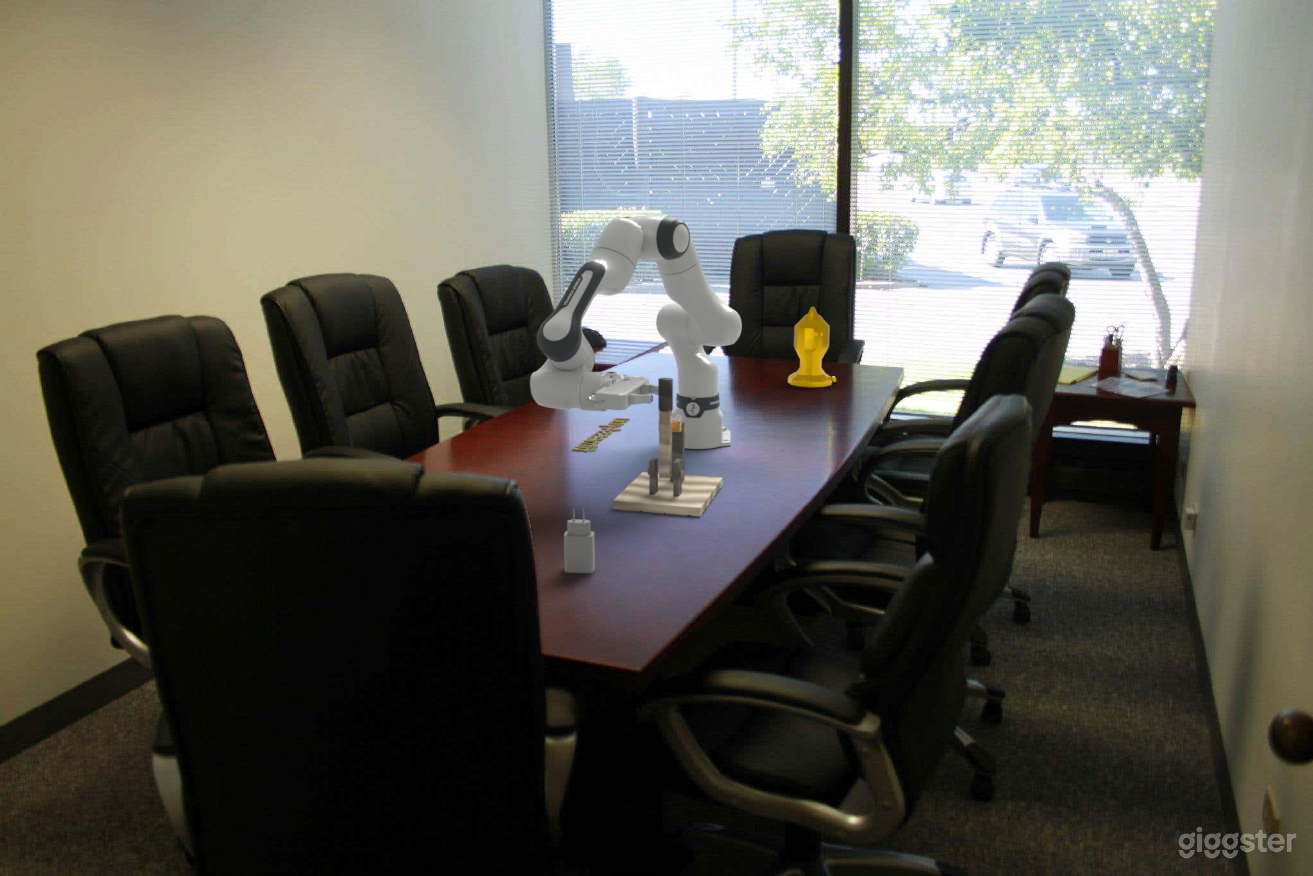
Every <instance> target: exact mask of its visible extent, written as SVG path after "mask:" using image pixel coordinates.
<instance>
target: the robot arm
mask: <svg viewBox="0 0 1313 876" xmlns="http://www.w3.org/2000/svg"><path fill="white" fill-rule="evenodd" d="M690 233H691V232H690V229H689V227H688V225H687V224H686V223H685V221H684V220H683V219H681V218H680V217H676V216H673V215H672V216H671V215H667V216H665V215H664V216H663V215H658V214H657V215H655V214H652V215H651V214H647V215H637V216H624V217H616V218H615V219H612V220H611V221H610V222H608V224H607V225H606V226H605V227H604V230H603V231H602V232H601V234H600V236H599V237H598V238H597V241H596V242H595V244H594V247H593V249H592V251H591V254H590V255H589V257H588V260H587V261H586V263H584V264H582V266H580V268H579V269H578V271H577V272H576V273H575V275H574V276H573V278H572V280H571V282H570V283H569V286H568V287H567V289H566V291H564V292H565V293H564V294H563V296H562V298H561V299H560V301H559V303H558V304H557V306H556V308H555V309H554V311H552V312H551V313H550V315H549V316H548V317H546V319H545V320H544V321H543V322H542V323H541V325H540V326H539V329H538V330H537V333H536V342H537V343H536V344H537V346H538V349H539V350H540V351H541V352H542V353H543V354H544V356H546V357H547V359H546V361H545V362H544V364H543V365H542V366H541V367H539V368H538V370H536V371H533V372H532V374H531V375H530V379H529V390H530V394H531V395H530V396H532V399H533V400H534V402H535V403H536V404H537V405H539V406H541V407H544V408H549V409H557V410H558V409H559V410H571V409H579V410H582V411H589V412H590V411H592V412H606V411H607V410H611V411H612V410H613V411H625V410H627V409H628V408H630V407H631V406H632V405H635V406H636V405H642V404H652V403H653V402H654V396H653V395H657V396H658V385H655V384H651V383H650V379H649V378H648V377H644V376H637V375H631V374H630V375H629V374H618V373H617V372H616V371H605V372H603V371H602V372H601V371H593V369H594V365H595V361H596V356H595V352H594V350H593V347H592V346H591V343H590V342H589V340H588V339H587V338H586V336H585V335H584V333H583V332H584V331H583V327H582V321H583V319H584V317H585V315H586V313H587V312H588V310H589V308H590V306H591V304H592V302H593V301H594V298H595V297H596V295H597V294H598V295H602V296H616V295H618V294H620V293H622V292H624V290H625V289H626V288H627V286H628V285H629V283H630V281H631V279H632V277H633V275H634V273H635V270H636V267H637V265H638V261H643V262H647V261H648V262H649V261H655V263H656V267H657V271H658V272H659V275H660V278H661V281H662V284H663V287H664V290H665V293H666V295H667V296H668V298H669V299H670V300H672V302H674V303H670V304H666V305H665V304H664V306H662V307H661V308H660V309H659V311H658V313H657V315H656V319H655V325H656V329H657V333H658V334H659V336H660V337H661V338H662V339H664V341H666V343H667V344H668V346H669V348H670V350H671V353H672V354H673V358H674V359H675V364H676V369H677V373H676V374H677V393H676V397H675V404H676V405H675V406H676V408H675V410H673V411H672V419H673V418H674V417H675V416H676V415H682V422H685V449H693V450H704V449H705V450H707V449H714V448H720V447H729V446H731V442H732V441H731V439H732V438H731V433H732V432H731V430H729V429H727V428H726V427H725V426H724V415H723V412H722V410H721V408H720V405H721V404H720V402H721V400H720V392H719V391H718V388H719V387H718V386H719V382H718V381H719V370H718V365H717V363H716V362H715V361H714V360H712V359H711V357H709V356H708V355H707V353H706V351H705V349H704V346H707V347H724V346H730V345H734V344H735V343H736V342H737V341H738V340H739V338H740V337H741V333H742V328H743V327H742V326H743V324H742V319H741V316H740V314H739V313H738V312H737V311H736V310H735V309H733V308H732V307H730V306H728V304H726V303H725V302H724V301H723V300H722V299H721V298H720V297H719V296H718V294H717V293H716V292H715V291H714V290H713V288H712V286H711V285H710V284H709V280H707V278H706V275H705V272H704V269H703V265H702V264H701V263H702V262H701V259H700V257H699V253H698V250H697V248H696V245H695V243H694V241H693V238H692V237H691V234H690Z"/></svg>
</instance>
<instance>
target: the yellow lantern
mask: <svg viewBox="0 0 1313 876" xmlns="http://www.w3.org/2000/svg"><path fill="white" fill-rule="evenodd" d="M830 327H831V326H830V324H828V322H827V321H825V319H824V318H823V317H822V315H820V314H818V312H817V309H816V307H814V306H810V308H809V311H808V313H807V314H805V315H803V317H802V318H801V319H800V320H799V321H798V322H797V323H796V324H795V325H794V328H793V329H794V330H793V331H794V334H793V336H794V337H793V347H794V350H795V351H796V354H797V356H798V358H799V368H798V369H797V371H795V372H793V373H792V374H789V376H788V377H787V383H788V384H789V385H791V386H795V387H799V388H800V387H801V388H826V387H828V386H832V384H833V383H836V382H837V377H836V376H830V375H829V374H827V373H826V372H825V370H824V369H823V368H822V359H823V358H824V356H825V354H826V353H827V351H828V349H829V347H830V329H831V328H830Z"/></svg>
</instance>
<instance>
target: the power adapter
mask: <svg viewBox="0 0 1313 876" xmlns="http://www.w3.org/2000/svg"><path fill="white" fill-rule="evenodd" d="M585 515H586V513H585V508H583V509H582V519H578V518H577V519H576V518H575V517H576V513H575V508H572V519H568V520H567V521H566V522H567V529H566V530H565V532H564V534H563V550H564V552H563V553H564V557H563V558H564V572H565V573H567V574H568V573H569V574H570V573H571V574H593V573H594V572H595V570H596V560H595V559H596V557H595V555H596V552H595V549H596V548H595V531H592V530H591V529H592V528H591V526H592V524H591V520H588V519H585V518H586V517H585Z"/></svg>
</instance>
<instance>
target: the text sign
mask: <svg viewBox="0 0 1313 876" xmlns="http://www.w3.org/2000/svg"><path fill="white" fill-rule="evenodd" d="M630 419H631V418H627V417H626V418H624V417H623V418H622V417H615V418H613V419H612V420H611V421H608V424H600V425H598V428H601V430H596V431H595V433H592V434H591V435H590V436H588V437H587V439H584V440H583V441H581V442H580V443H578V445H575V446H574V448H571V452H580V451H584V452H583V453H588V452H587V451H594V452H596V451H597V449H598V448H599V446H598V445H599V443H600V442H602V440H603V441H604V439H606V438H608V437H609V436H610V435H612V434H613V432H621V431H622V428H621V427H623V426H624V425H625V424H627V423H628V422H630ZM595 436H596V437H595ZM591 438H592V439H591ZM587 442H594V443H587ZM582 444H585V445H582ZM596 444H597V445H596ZM595 445H596V446H595ZM592 447H594V448H592ZM597 447H598V448H597ZM575 448H578V449H575ZM590 449H591V450H590ZM595 450H596V451H595Z"/></svg>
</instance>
